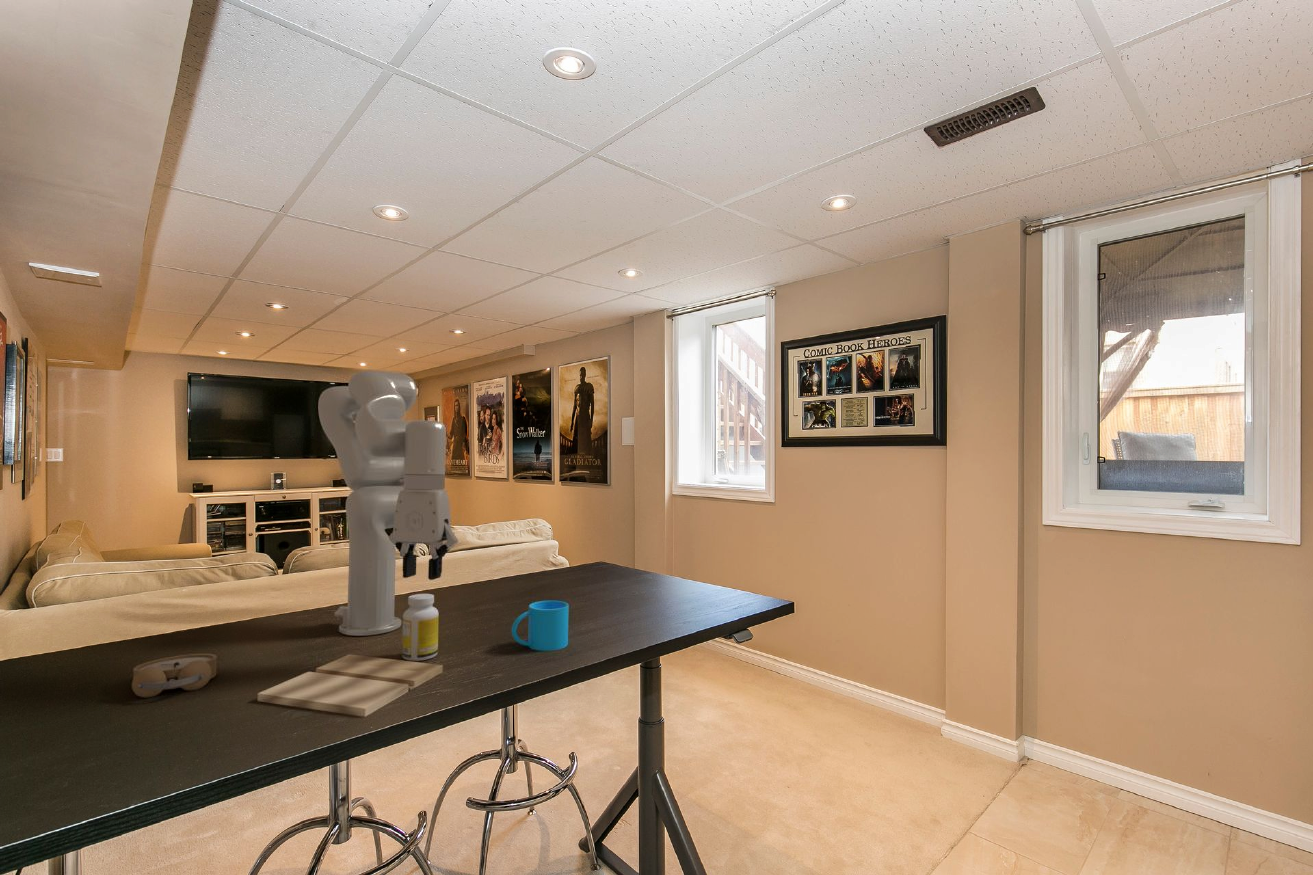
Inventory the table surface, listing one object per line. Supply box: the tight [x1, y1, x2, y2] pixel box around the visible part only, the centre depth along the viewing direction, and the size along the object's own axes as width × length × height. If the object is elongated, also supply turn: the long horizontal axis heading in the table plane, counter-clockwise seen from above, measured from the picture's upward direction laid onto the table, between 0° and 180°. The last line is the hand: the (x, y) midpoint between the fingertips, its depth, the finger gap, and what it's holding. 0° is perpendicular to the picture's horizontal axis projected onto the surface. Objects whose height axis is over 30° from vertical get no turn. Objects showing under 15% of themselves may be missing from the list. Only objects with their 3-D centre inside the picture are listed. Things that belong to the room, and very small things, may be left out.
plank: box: [257, 671, 409, 717], centre depth 99 cm, size 20×10×1 cm, turn 75°
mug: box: [511, 600, 570, 652], centre depth 126 cm, size 12×8×8 cm
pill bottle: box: [401, 593, 440, 662], centre depth 118 cm, size 6×6×12 cm
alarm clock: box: [131, 653, 218, 699], centre depth 102 cm, size 11×5×15 cm
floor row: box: [315, 653, 444, 691], centre depth 108 cm, size 20×9×1 cm, turn 75°
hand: (422, 576), depth 119 cm, fingers open, 4 cm apart
